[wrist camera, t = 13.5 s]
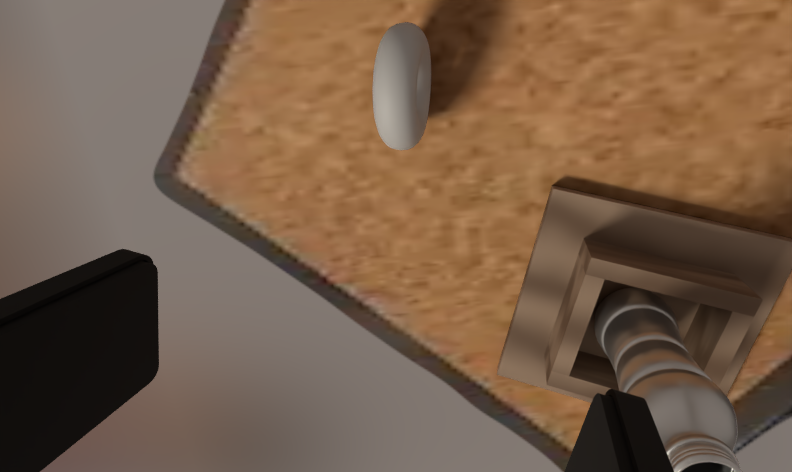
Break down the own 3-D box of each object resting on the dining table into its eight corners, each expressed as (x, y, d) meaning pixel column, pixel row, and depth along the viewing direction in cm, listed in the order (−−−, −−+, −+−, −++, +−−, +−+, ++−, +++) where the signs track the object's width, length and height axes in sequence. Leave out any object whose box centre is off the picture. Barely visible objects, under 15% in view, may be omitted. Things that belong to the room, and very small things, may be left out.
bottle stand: (552, 185, 42) (557, 201, 36) (794, 239, 39) (844, 267, 33) (497, 366, 49) (494, 405, 43) (699, 426, 46) (726, 477, 40)
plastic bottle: (675, 285, 41) (802, 450, 22) (657, 352, 43) (759, 552, 25) (597, 274, 42) (656, 421, 24) (584, 339, 45) (628, 520, 26)
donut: (431, 144, 44) (408, 160, 35) (396, 142, 45) (364, 157, 36) (438, 29, 41) (415, 13, 32) (400, 28, 42) (366, 13, 32)
